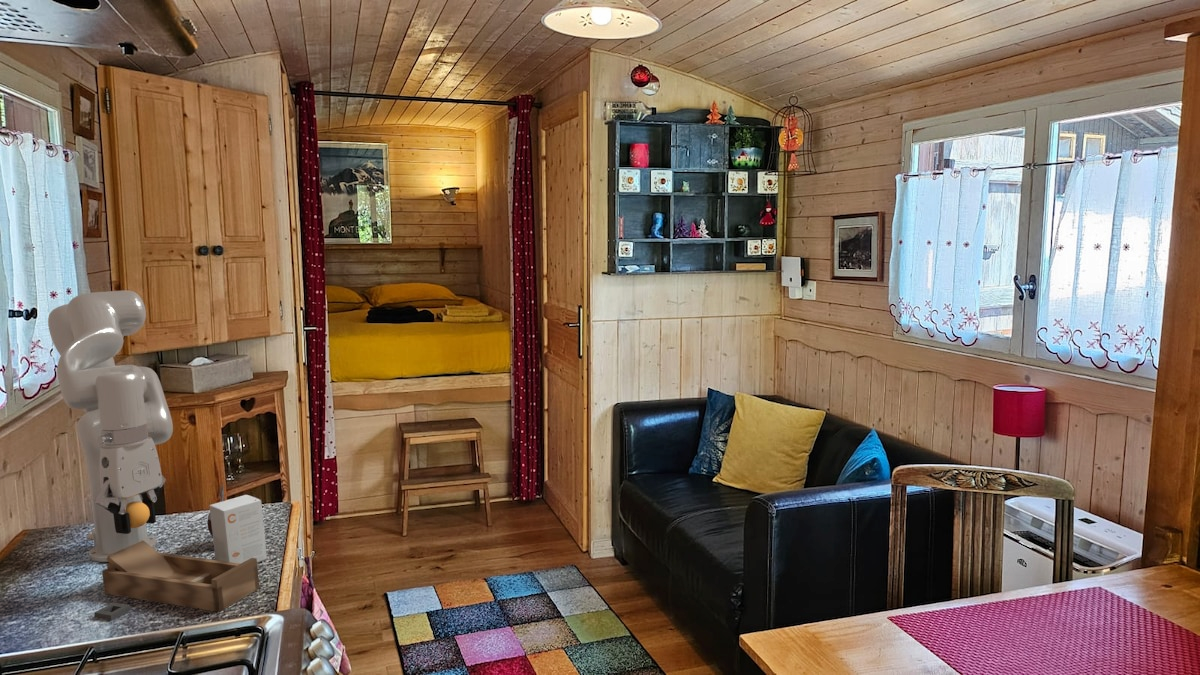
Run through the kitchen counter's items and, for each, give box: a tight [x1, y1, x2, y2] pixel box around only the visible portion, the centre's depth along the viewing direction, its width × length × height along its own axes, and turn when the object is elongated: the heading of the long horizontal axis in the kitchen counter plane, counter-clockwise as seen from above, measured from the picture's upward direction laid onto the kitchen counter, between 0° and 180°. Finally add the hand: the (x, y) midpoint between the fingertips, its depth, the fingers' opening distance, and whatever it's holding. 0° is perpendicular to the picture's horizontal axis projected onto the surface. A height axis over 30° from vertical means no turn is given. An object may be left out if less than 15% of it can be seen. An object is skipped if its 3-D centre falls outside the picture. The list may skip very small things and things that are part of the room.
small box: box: [209, 494, 268, 564], centre depth 169 cm, size 8×6×13 cm
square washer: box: [93, 602, 132, 621], centre depth 148 cm, size 4×4×1 cm
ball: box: [125, 501, 150, 528], centre depth 158 cm, size 5×5×5 cm
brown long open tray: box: [101, 540, 260, 613], centre depth 157 cm, size 28×10×7 cm, turn 71°
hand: (136, 526), depth 158 cm, fingers closed on ball, 4 cm apart
